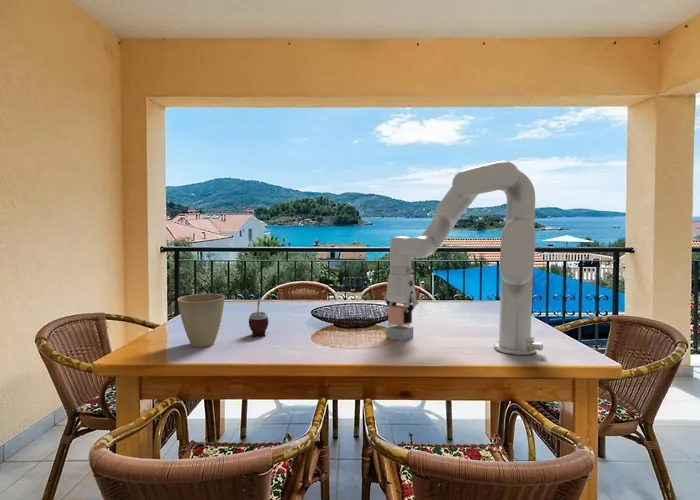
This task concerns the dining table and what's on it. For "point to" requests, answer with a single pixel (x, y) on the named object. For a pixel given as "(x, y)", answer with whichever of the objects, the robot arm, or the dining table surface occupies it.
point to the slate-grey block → (399, 332)
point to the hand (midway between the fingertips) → (400, 320)
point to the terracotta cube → (397, 315)
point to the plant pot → (201, 317)
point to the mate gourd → (258, 322)
